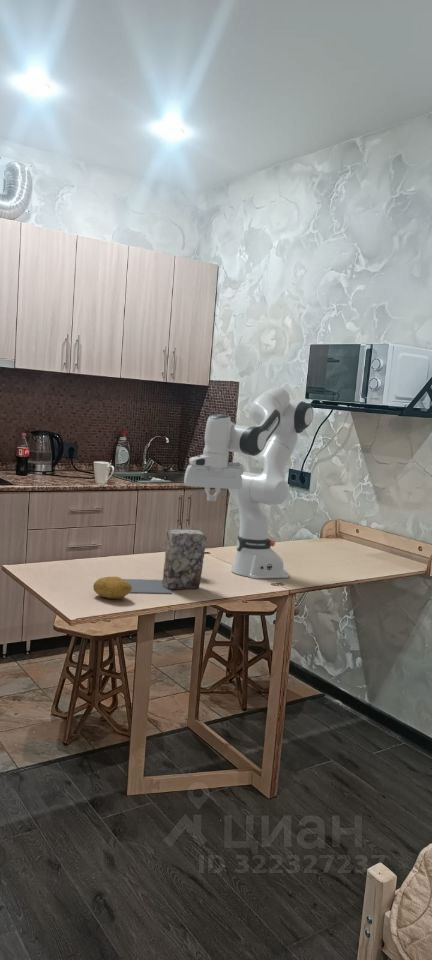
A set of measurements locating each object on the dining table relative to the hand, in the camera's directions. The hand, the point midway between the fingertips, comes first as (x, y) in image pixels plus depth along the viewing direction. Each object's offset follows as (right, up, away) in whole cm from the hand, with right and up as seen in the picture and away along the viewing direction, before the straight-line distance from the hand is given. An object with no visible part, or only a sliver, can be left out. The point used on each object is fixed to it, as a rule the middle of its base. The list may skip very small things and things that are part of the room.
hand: (211, 500), depth 246 cm
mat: (-24, -30, -2) cm, 38 cm away
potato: (-32, -31, -18) cm, 48 cm away
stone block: (-11, -30, +1) cm, 32 cm away
